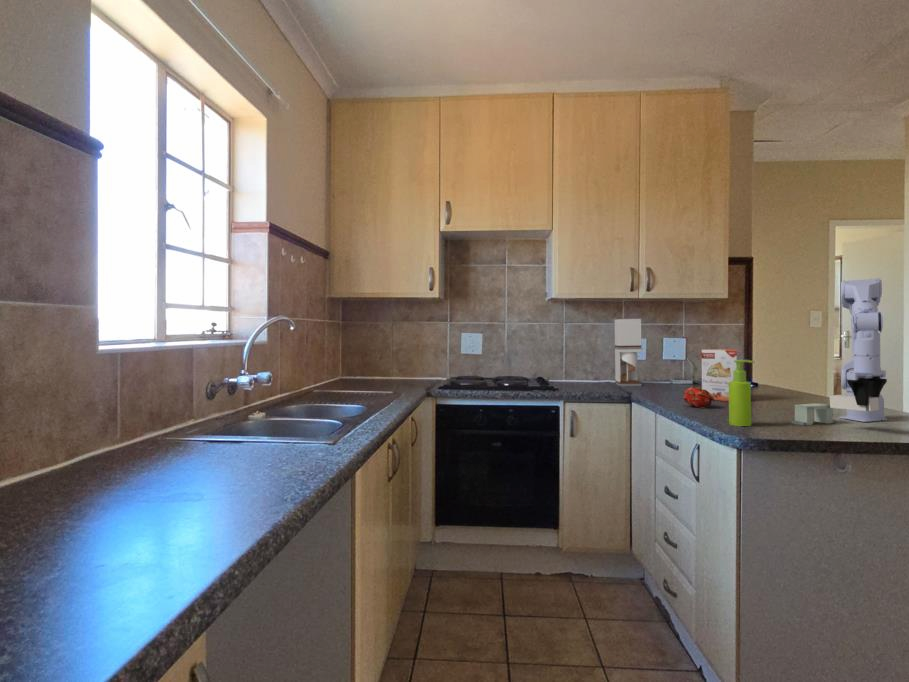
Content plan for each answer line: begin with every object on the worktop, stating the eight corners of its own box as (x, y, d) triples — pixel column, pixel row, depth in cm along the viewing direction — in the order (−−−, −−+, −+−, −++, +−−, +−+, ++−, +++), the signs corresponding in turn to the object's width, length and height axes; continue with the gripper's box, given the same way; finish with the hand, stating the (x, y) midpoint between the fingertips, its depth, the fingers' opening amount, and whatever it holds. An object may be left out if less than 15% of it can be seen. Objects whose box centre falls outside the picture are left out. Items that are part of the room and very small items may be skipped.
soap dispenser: (755, 427, 147) (754, 360, 147) (728, 425, 151) (727, 360, 151) (755, 424, 152) (754, 359, 152) (729, 422, 156) (729, 359, 156)
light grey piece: (619, 386, 259) (618, 319, 258) (615, 383, 270) (614, 319, 269) (641, 386, 258) (641, 318, 257) (637, 383, 268) (636, 319, 267)
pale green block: (823, 420, 156) (823, 402, 156) (836, 422, 152) (836, 404, 152) (790, 423, 153) (790, 405, 153) (803, 425, 149) (802, 407, 149)
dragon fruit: (683, 408, 193) (712, 417, 183) (673, 397, 189) (702, 406, 179) (693, 390, 195) (723, 398, 184) (684, 379, 191) (713, 386, 180)
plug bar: (838, 406, 146) (838, 394, 146) (878, 410, 137) (878, 397, 137) (830, 407, 144) (829, 395, 144) (870, 411, 135) (869, 398, 135)
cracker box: (701, 399, 207) (700, 349, 206) (708, 397, 210) (707, 348, 210) (737, 402, 196) (736, 349, 195) (743, 401, 199) (743, 349, 199)
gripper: (865, 354, 144) (865, 400, 144) (834, 356, 138) (835, 404, 138) (894, 355, 137) (894, 404, 137) (864, 357, 131) (864, 408, 132)
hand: (866, 404), depth 137 cm, fingers closed on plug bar, 4 cm apart
